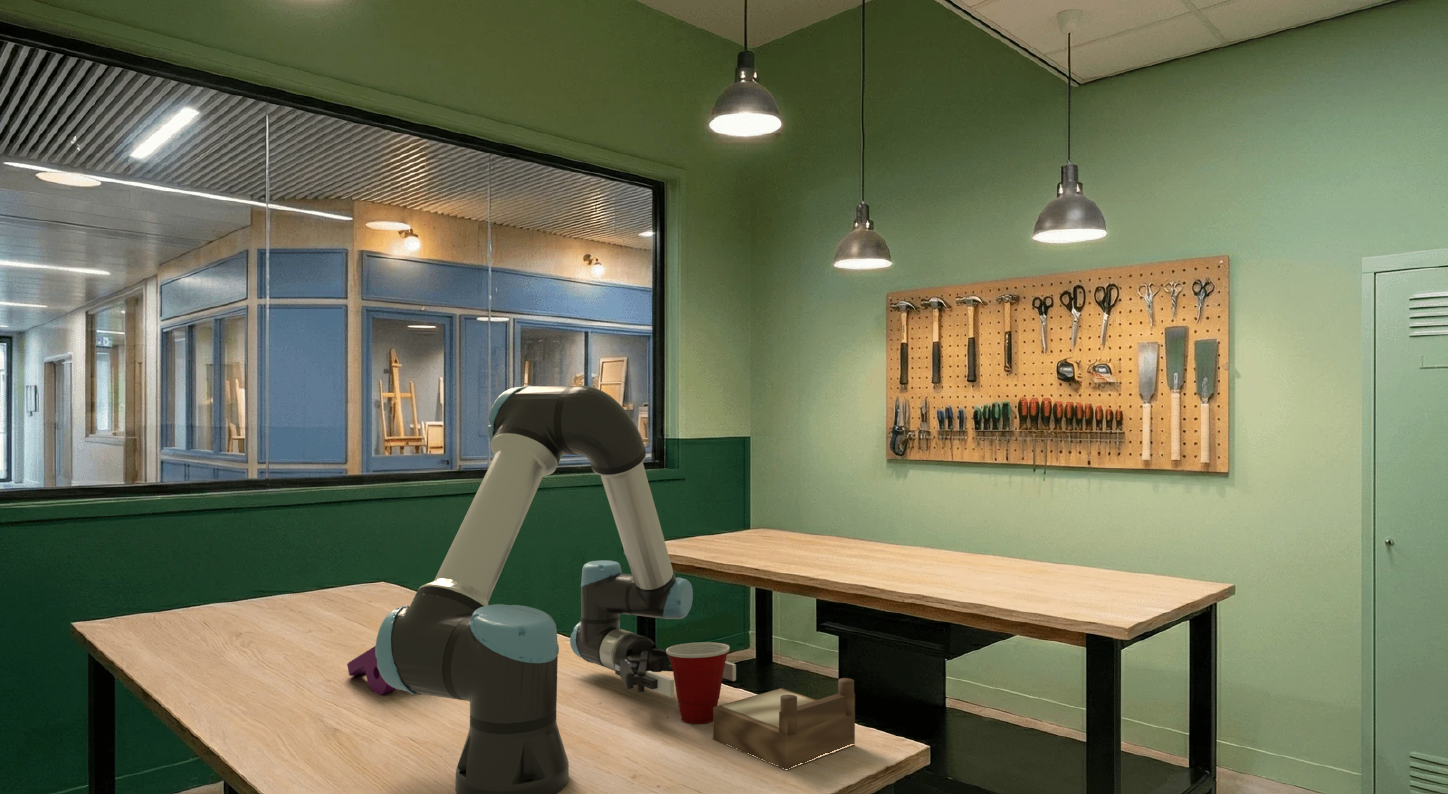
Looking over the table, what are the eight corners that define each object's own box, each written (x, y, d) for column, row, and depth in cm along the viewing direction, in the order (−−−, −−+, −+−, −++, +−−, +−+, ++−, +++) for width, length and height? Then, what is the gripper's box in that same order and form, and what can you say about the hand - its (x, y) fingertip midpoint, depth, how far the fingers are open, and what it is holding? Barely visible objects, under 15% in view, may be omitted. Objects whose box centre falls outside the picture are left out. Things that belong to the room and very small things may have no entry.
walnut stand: (713, 739, 139) (713, 675, 139) (781, 718, 148) (781, 658, 149) (788, 771, 126) (788, 701, 126) (856, 746, 136) (857, 680, 136)
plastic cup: (704, 703, 156) (705, 634, 156) (742, 720, 147) (743, 648, 147) (652, 715, 149) (653, 643, 150) (688, 734, 141) (689, 658, 141)
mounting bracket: (347, 712, 167) (390, 689, 157) (338, 668, 170) (380, 642, 159) (394, 701, 174) (438, 677, 164) (385, 658, 177) (428, 633, 166)
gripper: (681, 662, 172) (757, 688, 156) (571, 688, 155) (643, 719, 139) (682, 623, 172) (758, 645, 156) (571, 644, 155) (644, 671, 139)
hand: (704, 680), depth 148 cm, fingers open, 13 cm apart
